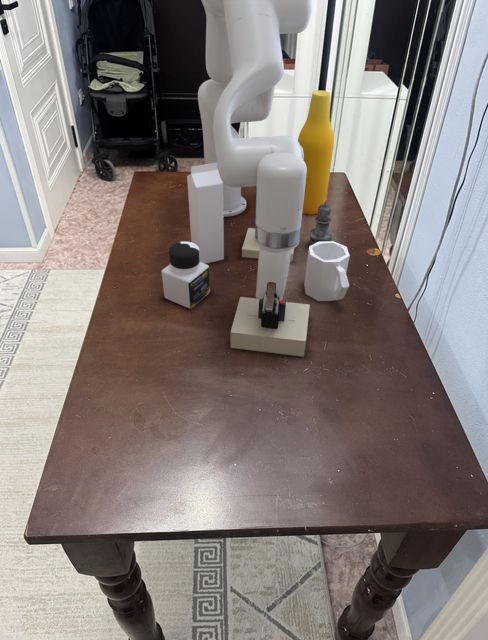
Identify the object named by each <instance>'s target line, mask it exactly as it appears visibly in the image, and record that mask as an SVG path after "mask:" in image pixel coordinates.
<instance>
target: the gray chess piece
mask: <svg viewBox="0 0 488 640" xmlns="http://www.w3.org/2000/svg"><path fill="white" fill-rule="evenodd" d="M331 211H332V208H331V206H330V205H329V204H328V202H327V200H326V201H325V202H324V204H322V205H320V206H319V208H318V214H316V215H317V216H316V217H315V218H314V220H315V227H314V228H312V229H310V230H309V232H308V236H309V239H310V242H309V243H308V248H309V247H310V246H311V245H313V244H315V243H317V242H325V241H332V239H333V238H334V233H333V231H331V230H330V229H329V227H330V223H331V221H332V219H331V217H330V216H331Z"/></svg>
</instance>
